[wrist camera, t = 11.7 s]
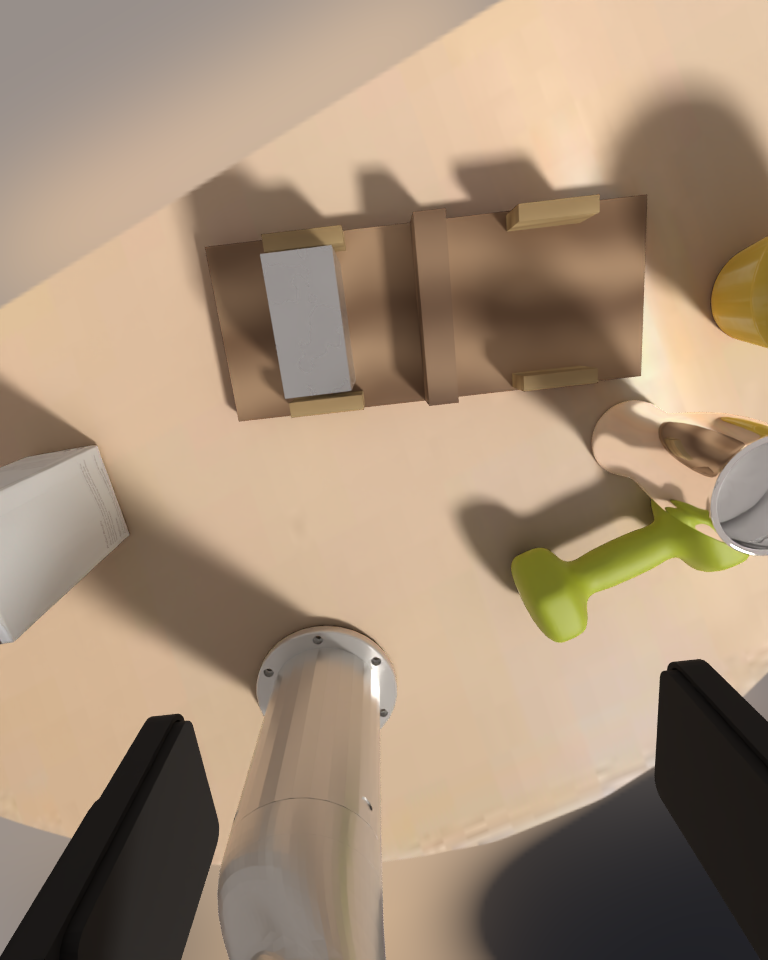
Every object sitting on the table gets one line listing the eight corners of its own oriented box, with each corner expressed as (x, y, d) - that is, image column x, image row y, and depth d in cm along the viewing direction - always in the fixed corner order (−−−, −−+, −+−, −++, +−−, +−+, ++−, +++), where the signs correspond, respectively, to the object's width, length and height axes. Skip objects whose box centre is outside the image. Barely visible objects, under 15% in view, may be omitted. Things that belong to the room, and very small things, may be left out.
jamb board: (630, 374, 38) (663, 379, 33) (244, 418, 38) (227, 428, 34) (635, 200, 34) (673, 180, 30) (211, 250, 35) (188, 238, 30)
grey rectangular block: (356, 380, 36) (351, 390, 29) (301, 387, 36) (284, 398, 29) (340, 263, 34) (331, 245, 27) (282, 270, 34) (260, 254, 27)
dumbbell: (679, 457, 40) (742, 482, 33) (707, 537, 42) (773, 577, 35) (493, 543, 42) (517, 585, 35) (529, 617, 44) (558, 669, 37)
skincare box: (29, 455, 39) (-172, 524, 24) (103, 442, 39) (-56, 503, 24) (67, 551, 41) (-97, 666, 27) (137, 539, 41) (9, 648, 27)
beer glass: (578, 408, 38) (700, 450, 24) (667, 383, 38) (845, 411, 24) (592, 489, 40) (713, 574, 26) (677, 467, 40) (847, 540, 25)
